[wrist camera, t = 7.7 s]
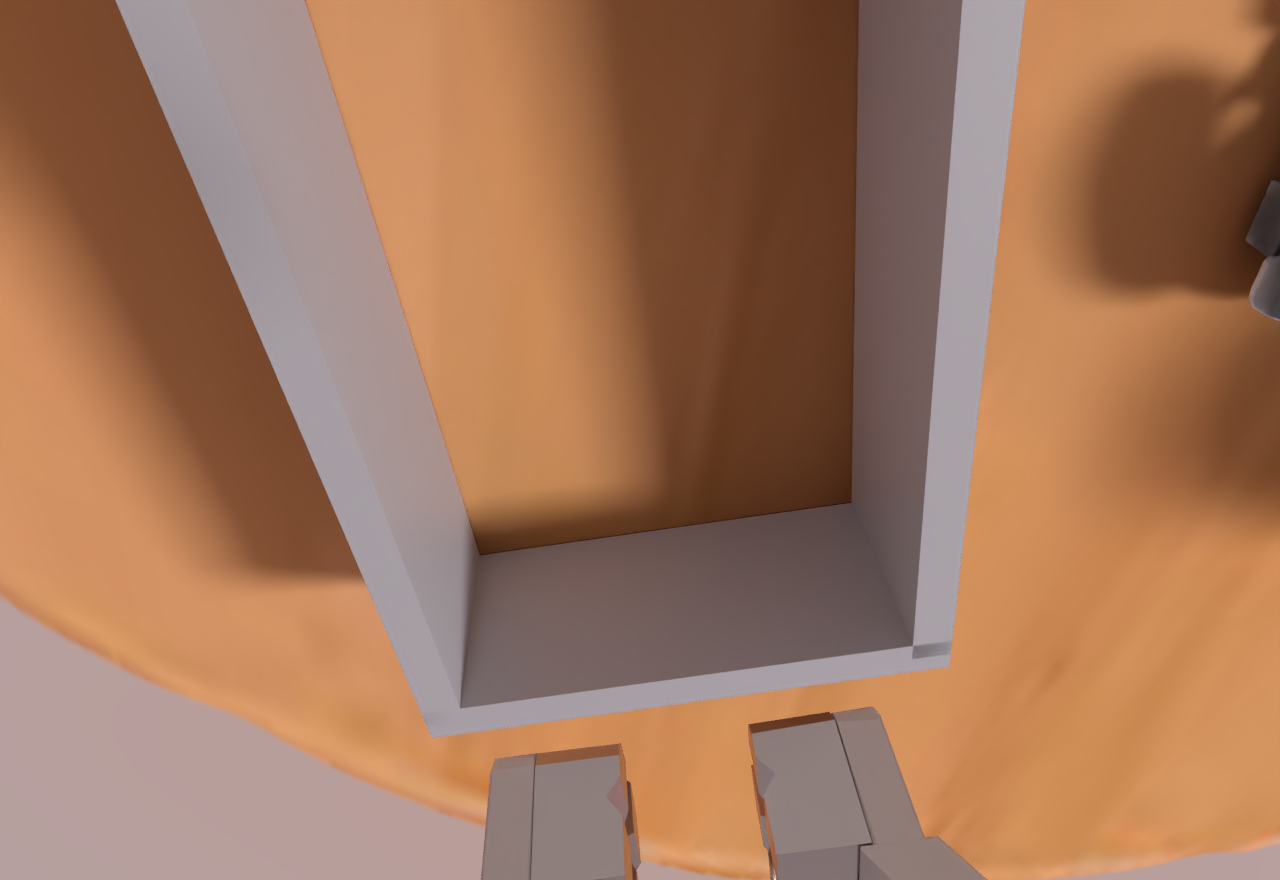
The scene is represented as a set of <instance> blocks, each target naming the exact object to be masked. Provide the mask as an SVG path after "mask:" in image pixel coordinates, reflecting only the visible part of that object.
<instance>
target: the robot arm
mask: <svg viewBox="0 0 1280 880" xmlns="http://www.w3.org/2000/svg"><path fill="white" fill-rule="evenodd" d="M748 734H749V745H750V750H751V755H752V760H753V765H752V766H751V768H752V776H753V784H754V792H755V800H756V807H757V812H758V818H759V823H760V829H761V834H762V839H763V845H764V847H765V848H766V849H767V850H768V857H769V867H770V878H771V880H987V879H986V878H985V877H984V876H982V875H981V874H980V873H979V872H978V871H977V870H976V869H975V868H973V867H972V866H971V865H970V864H969V863H968V862H967V861H965V860H964V859H963V858H962V857H961V856H960V855H959V854H957V853H956V852H955V851H954V850H953V849H952V848H951V847H950V846H948V845H947V844H946V843H945V842H944V841H943V840H942V839H940V838H939V837H938V836H937V837H924V834H923V831H922V829H921V826H920V823H919V820H918V818H917V815H916V812H915V809H914V807H913V804H912V801H911V798H910V796H909V793H908V790H907V787H906V785H905V782H904V779H903V776H902V774H901V771H900V768H899V765H898V763H897V760H896V757H895V754H894V752H893V749H892V746H891V743H890V741H889V738H888V735H887V732H886V730H885V727H884V724H883V721H882V719H881V716H880V714H879V713H878V712H877V711H876V709H875V708H874V707H867V708H861V709H854V710H848V711H842V712H836V713H831V714H830V712H825V713H819V714H812V715H806V716H799V717H793V718H786V719H780V720H774V721H767V722H761V723H754V724H748ZM640 863H641V860H640V848H639V836H638V827H637V818H636V810H635V804H634V798H633V793H632V788H631V783H630V782H629V781H627V779H626V764H625V757H624V754H623V750H622V746H621V743H620V744H612V745H604V746H596V747H587V748H579V749H571V750H563V751H554V752H546V753H535V754H528V755H520V756H513V757H506V758H499V759H495V761H494V764H493V767H492V770H491V773H490V784H489V795H488V807H487V818H486V829H485V840H484V852H483V863H482V874H481V880H638V876H637V871H636V870H637V868H638V867H639V865H640Z"/></svg>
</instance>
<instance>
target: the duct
mask: <svg viewBox="0 0 1280 880" xmlns="http://www.w3.org/2000/svg"><path fill="white" fill-rule="evenodd" d="M115 1H116V3H117V5H118V8H119V10H120V12H121V15H122V17H123V19H124V22H125V24H126V26H127V29H128V31H129V33H130V36H131V38H132V40H133V43H134V45H135V47H136V50H137V52H138V54H139V57H140V59H141V61H142V64H143V66H144V68H145V71H146V73H147V75H148V78H149V80H150V82H151V85H152V87H153V89H154V92H155V94H156V96H157V99H158V101H159V103H160V106H161V108H162V110H163V113H164V115H165V117H166V120H167V122H168V124H169V127H170V129H171V131H172V134H173V136H174V138H175V141H176V143H177V145H178V148H179V150H180V152H181V155H182V157H183V159H184V162H185V164H186V166H187V169H188V171H189V173H190V175H191V178H192V180H193V182H194V185H195V187H196V189H197V192H198V194H199V196H200V199H201V201H202V203H203V206H204V208H205V210H206V213H207V215H208V217H209V220H210V222H211V224H212V227H213V229H214V231H215V234H216V236H217V238H218V241H219V243H220V245H221V248H222V250H223V252H224V255H225V257H226V259H227V262H228V264H229V266H230V269H231V271H232V273H233V276H234V278H235V280H236V283H237V285H238V287H239V290H240V292H241V294H242V297H243V299H244V301H245V304H246V306H247V308H248V311H249V313H250V315H251V318H252V320H253V322H254V325H255V327H256V329H257V332H258V334H259V336H260V339H261V341H262V343H263V346H264V348H265V350H266V353H267V355H268V357H269V360H270V362H271V364H272V367H273V369H274V371H275V374H276V376H277V378H278V381H279V383H280V385H281V388H282V390H283V392H284V395H285V397H286V399H287V402H288V404H289V406H290V409H291V411H292V413H293V416H294V418H295V420H296V423H297V425H298V427H299V429H300V432H301V434H302V436H303V439H304V441H305V443H306V446H307V448H308V450H309V453H310V455H311V457H312V460H313V462H314V464H315V467H316V469H317V471H318V474H319V476H320V478H321V481H322V483H323V485H324V488H325V490H326V492H327V495H328V497H329V499H330V502H331V504H332V506H333V509H334V511H335V513H336V516H337V518H338V520H339V523H340V525H341V527H342V530H343V532H344V534H345V537H346V539H347V541H348V544H349V546H350V548H351V551H352V553H353V555H354V558H355V560H356V562H357V565H358V567H359V569H360V572H361V574H362V576H363V579H364V581H365V583H366V586H367V588H368V590H369V593H370V595H371V597H372V600H373V602H374V604H375V607H376V609H377V611H378V614H379V616H380V618H381V621H382V623H383V625H384V628H385V630H386V632H387V635H388V637H389V639H390V642H391V644H392V646H393V649H394V651H395V653H396V656H397V658H398V660H399V663H400V665H401V667H402V670H403V672H404V674H405V677H406V679H407V681H408V684H409V686H410V688H411V690H412V693H413V695H414V697H415V700H416V702H417V704H418V707H419V709H420V711H421V714H422V716H423V718H424V721H425V723H426V725H427V728H428V730H429V732H430V735H431V737H432V738H436V737H443V736H451V735H458V734H465V733H472V732H480V731H487V730H494V729H501V728H509V727H516V726H523V725H530V724H538V723H545V722H552V721H559V720H567V719H574V718H581V717H588V716H596V715H603V714H610V713H617V712H625V711H632V710H639V709H647V708H654V707H661V706H668V705H676V704H683V703H690V702H697V701H705V700H712V699H719V698H726V697H734V696H741V695H748V694H755V693H763V692H770V691H777V690H784V689H792V688H799V687H806V686H813V685H821V684H828V683H835V682H843V681H850V680H857V679H864V678H872V677H879V676H886V675H893V674H901V673H908V672H915V671H922V670H930V669H937V668H944V667H949V664H950V656H951V647H952V638H953V629H954V621H955V612H956V603H957V594H958V586H959V577H960V568H961V559H962V551H963V542H964V533H965V524H966V516H967V507H968V498H969V489H970V481H971V472H972V463H973V455H974V446H975V437H976V428H977V420H978V411H979V402H980V393H981V385H982V376H983V367H984V358H985V350H986V341H987V332H988V323H989V315H990V306H991V297H992V288H993V280H994V271H995V262H996V253H997V245H998V236H999V227H1000V218H1001V210H1002V201H1003V192H1004V183H1005V175H1006V166H1007V157H1008V148H1009V140H1010V131H1011V122H1012V113H1013V105H1014V96H1015V87H1016V78H1017V70H1018V61H1019V52H1020V43H1021V35H1022V26H1023V17H1024V8H1025V0H859V35H858V102H857V168H856V235H855V302H854V369H853V436H852V503H846V504H839V505H832V506H825V507H818V508H811V509H804V510H797V511H790V512H782V513H775V514H768V515H761V516H754V517H747V518H740V519H733V520H726V521H719V522H712V523H705V524H698V525H691V526H684V527H677V528H670V529H662V530H655V531H648V532H641V533H634V534H627V535H620V536H613V537H606V538H599V539H592V540H585V541H578V542H571V543H564V544H557V545H550V546H542V547H535V548H528V549H521V550H514V551H507V552H500V553H493V554H486V555H480V554H479V551H478V548H477V544H476V541H475V538H474V535H473V532H472V529H471V525H470V522H469V519H468V516H467V513H466V510H465V506H464V503H463V500H462V497H461V494H460V491H459V488H458V484H457V481H456V478H455V475H454V472H453V469H452V465H451V462H450V459H449V456H448V453H447V450H446V446H445V443H444V440H443V437H442V434H441V431H440V427H439V424H438V421H437V418H436V415H435V412H434V408H433V405H432V402H431V399H430V396H429V393H428V389H427V386H426V383H425V380H424V377H423V374H422V371H421V367H420V364H419V361H418V358H417V355H416V352H415V348H414V345H413V342H412V339H411V336H410V333H409V329H408V326H407V323H406V320H405V317H404V314H403V310H402V307H401V304H400V301H399V298H398V295H397V291H396V288H395V285H394V282H393V279H392V276H391V272H390V269H389V266H388V263H387V260H386V257H385V253H384V250H383V247H382V244H381V241H380V238H379V235H378V231H377V228H376V225H375V222H374V219H373V216H372V212H371V209H370V206H369V203H368V200H367V197H366V193H365V190H364V187H363V184H362V181H361V178H360V174H359V171H358V168H357V165H356V162H355V159H354V155H353V152H352V149H351V146H350V143H349V140H348V136H347V133H346V130H345V127H344V124H343V121H342V117H341V114H340V111H339V108H338V105H337V102H336V99H335V95H334V92H333V89H332V86H331V83H330V80H329V76H328V73H327V70H326V67H325V64H324V61H323V57H322V54H321V51H320V48H319V45H318V42H317V38H316V35H315V32H314V29H313V26H312V23H311V19H310V16H309V13H308V10H307V7H306V4H305V0H115Z"/></svg>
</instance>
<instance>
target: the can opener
mask: <svg viewBox="0 0 1280 880" xmlns="http://www.w3.org/2000/svg"><path fill="white" fill-rule="evenodd" d="M1246 242H1247V243H1249V244H1250V245H1252V246H1253V247H1254V248H1255V249H1257V250H1258V251H1259V252H1261V253H1262V254H1263V255H1265V256H1266V257H1267V258H1266V259H1265V260H1264V262H1263V264H1262V266H1261V268H1260V270H1259V272H1258V275H1257V277H1256V279H1255V281H1254V283H1253V285H1252V288H1251V291H1250V294H1249V304H1250V305H1251V306H1252V307H1253V308H1254V309H1255V310H1257V311H1258V312H1260V313H1262V314H1264V315H1266V316H1268V317H1270V318H1272V319H1275V320H1278V321H1280V182H1279V181H1277V180H1271V182H1270V184H1269V187H1268V189H1267V190H1266V195H1265V197H1264V198H1263V200H1262V202H1261V205H1260V207H1259V209H1258V212H1257V214H1256V216H1255V218H1254V220H1253V223H1252V226H1251V228H1250V230H1249V232H1248V235H1247V237H1246Z"/></svg>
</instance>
